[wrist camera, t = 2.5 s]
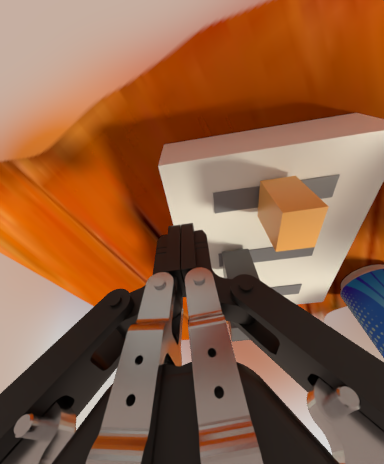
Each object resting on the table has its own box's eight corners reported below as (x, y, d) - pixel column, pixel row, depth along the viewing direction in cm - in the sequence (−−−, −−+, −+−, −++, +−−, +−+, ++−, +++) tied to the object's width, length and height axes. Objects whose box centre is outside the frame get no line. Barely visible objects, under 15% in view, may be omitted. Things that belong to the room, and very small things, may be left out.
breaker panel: (356, 112, 16) (413, 126, 12) (303, 270, 29) (323, 302, 25) (163, 144, 17) (157, 166, 13) (194, 283, 30) (196, 315, 26)
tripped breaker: (295, 175, 14) (328, 206, 10) (288, 211, 15) (314, 247, 12) (260, 180, 14) (282, 212, 11) (257, 215, 16) (275, 251, 12)
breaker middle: (248, 248, 18) (261, 285, 15) (247, 269, 20) (259, 306, 17) (221, 251, 18) (229, 289, 15) (223, 272, 20) (230, 309, 17)
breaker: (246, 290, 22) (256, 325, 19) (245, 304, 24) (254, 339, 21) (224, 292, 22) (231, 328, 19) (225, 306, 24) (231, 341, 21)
